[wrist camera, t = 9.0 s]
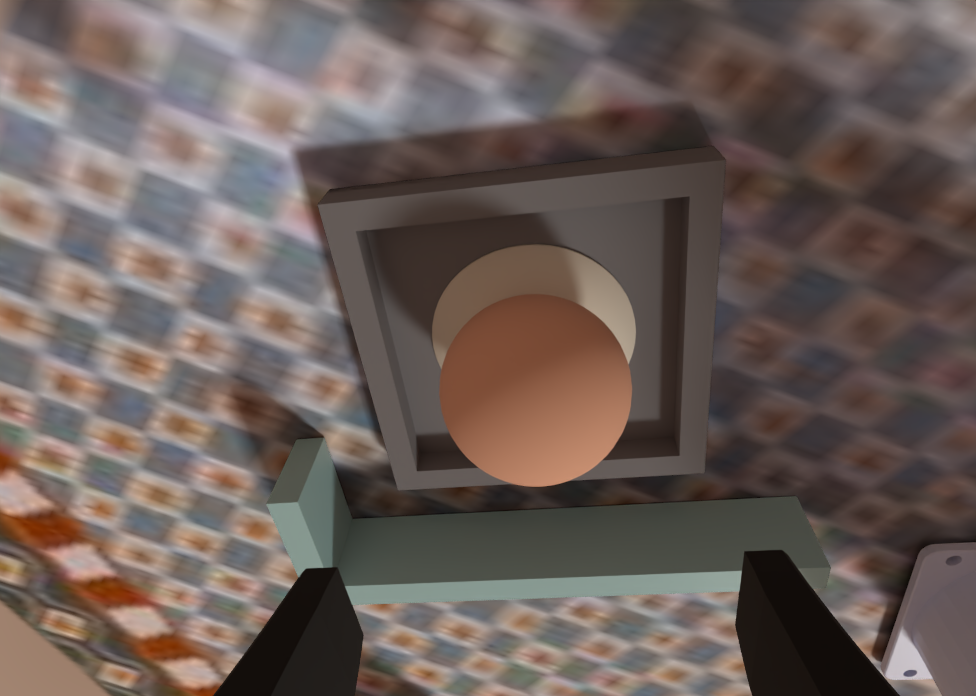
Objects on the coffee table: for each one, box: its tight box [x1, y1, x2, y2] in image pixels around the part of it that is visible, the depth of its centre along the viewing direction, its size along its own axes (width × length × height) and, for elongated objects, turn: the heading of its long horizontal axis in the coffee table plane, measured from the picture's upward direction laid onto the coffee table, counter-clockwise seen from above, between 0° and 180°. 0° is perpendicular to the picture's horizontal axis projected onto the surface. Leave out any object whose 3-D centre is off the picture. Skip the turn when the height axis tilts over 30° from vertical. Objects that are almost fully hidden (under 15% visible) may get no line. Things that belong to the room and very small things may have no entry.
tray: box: [318, 146, 726, 490], centre depth 19 cm, size 10×10×1 cm
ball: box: [439, 294, 632, 487], centre depth 17 cm, size 5×5×5 cm
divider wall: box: [267, 438, 831, 605], centre depth 21 cm, size 17×5×3 cm, turn 97°
